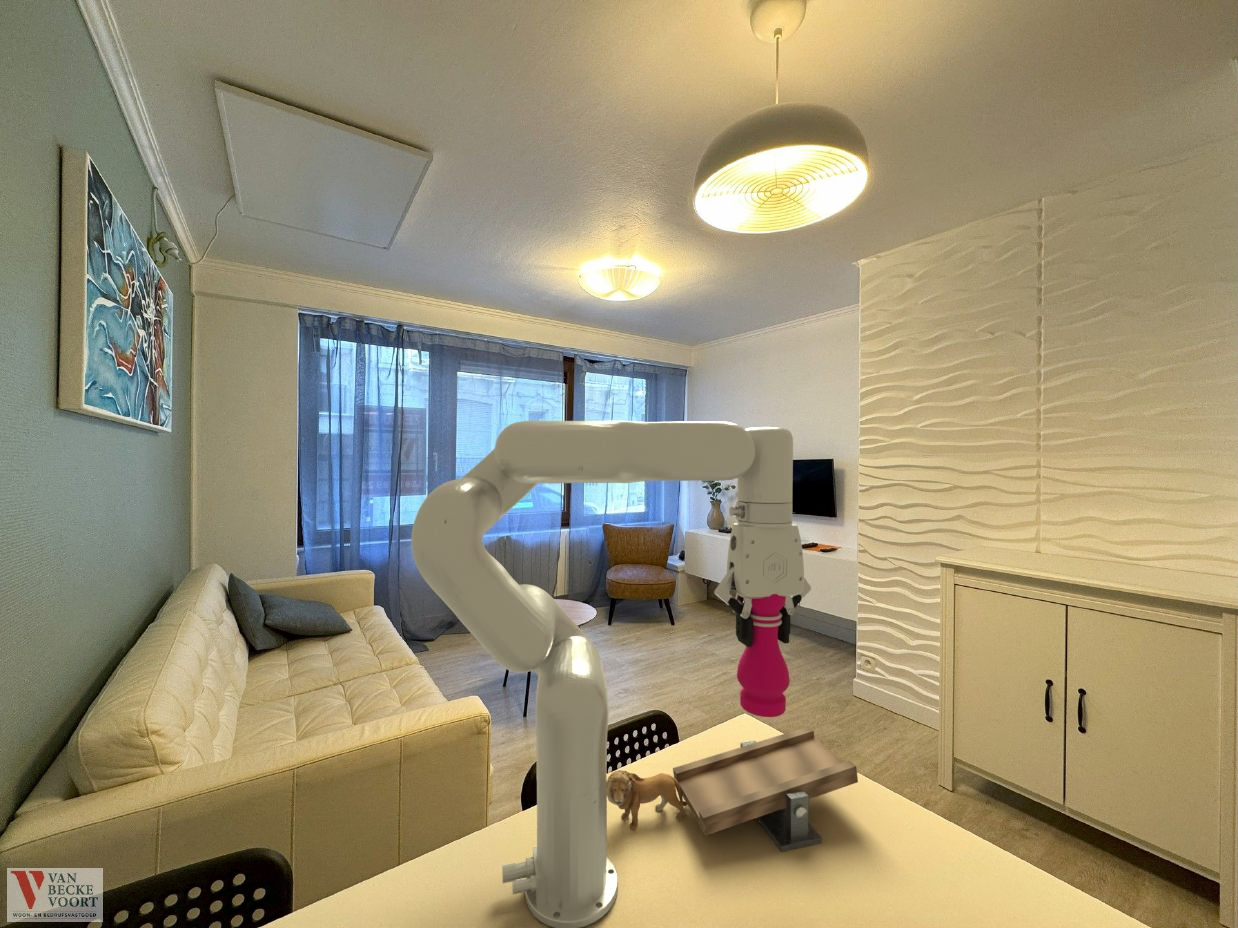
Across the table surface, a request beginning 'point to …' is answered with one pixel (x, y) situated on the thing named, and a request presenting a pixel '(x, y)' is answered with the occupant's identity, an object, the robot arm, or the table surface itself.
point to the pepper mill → (764, 661)
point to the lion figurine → (643, 793)
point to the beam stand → (790, 822)
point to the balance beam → (760, 778)
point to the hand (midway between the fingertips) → (763, 640)
